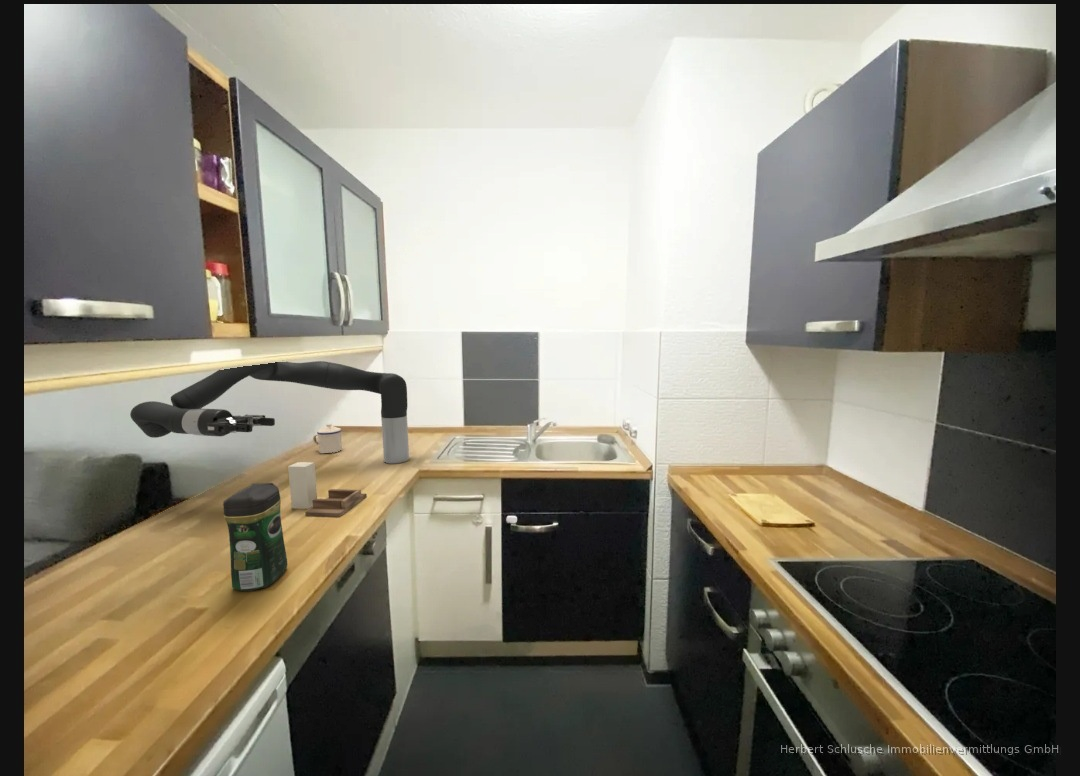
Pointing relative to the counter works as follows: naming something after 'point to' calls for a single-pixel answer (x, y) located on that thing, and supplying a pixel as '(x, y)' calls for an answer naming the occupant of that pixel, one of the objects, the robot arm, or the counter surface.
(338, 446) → the teacup with lid
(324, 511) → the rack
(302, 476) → the white rectangular block
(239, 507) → the coffee jar
